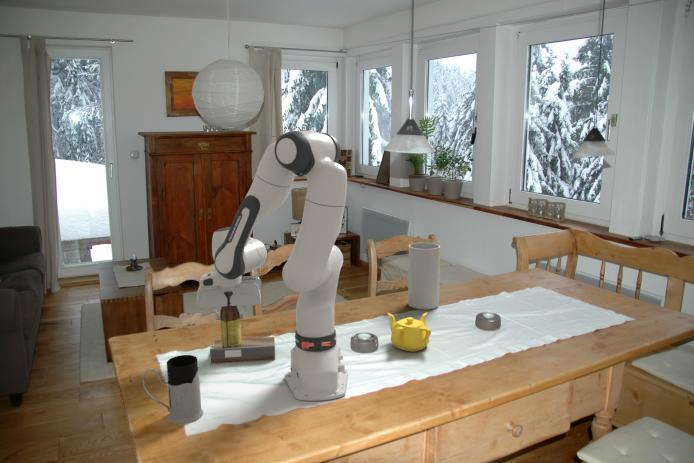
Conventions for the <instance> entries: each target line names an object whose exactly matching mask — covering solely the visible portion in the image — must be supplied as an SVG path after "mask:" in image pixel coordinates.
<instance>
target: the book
mask: <svg viewBox="0 0 694 463" xmlns="http://www.w3.org/2000/svg"><path fill="white" fill-rule="evenodd" d="M264 345H275V336H267V337H266V336H265V337H262V336H261V337H248V338H247V337H246V338H241V347H248V346H264ZM275 346H276V345H275ZM215 348H223V347H222V339H215V340H214V343H213V348H212V349H215ZM273 360H276V354H275V355H270V356H255V357H239V358H223V359H211V358H210V364H211V365H213V364H227V363H230V364H231V363H242V362H243V363H244V362H259V361H273Z"/></svg>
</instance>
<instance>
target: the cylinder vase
mask: <svg viewBox="0 0 694 463" xmlns="http://www.w3.org/2000/svg"><path fill="white" fill-rule="evenodd" d="M440 263H441V245H439V244H437V243H432V242H415V243H410V244H408V272H407V273H408V278H407V280H408V282H407V283H408V284H407V285H408V287H407V288H408V289H407V290H408V292H407V293H408V294H407V304H408V307H410V308H413V309H416V310H423V311H424V310H427V311H428V310H433V309H434V310H435V309H437V308H438V307H439V304H440V277H441V276H440V275H441V274H440V273H441V271H440V268H441V266H440V265H441V264H440Z"/></svg>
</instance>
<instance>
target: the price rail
mask: <svg viewBox="0 0 694 463" xmlns="http://www.w3.org/2000/svg"><path fill="white" fill-rule="evenodd" d="M275 346H276V345H264V346H248V347H231V348H215V349H213V348H210V349H209V353H210V354H209V355H210V360H211V359H223V358H239V357H255V356H270V355H275V356H276V352H275V351H276V350H275V349H276V347H275Z"/></svg>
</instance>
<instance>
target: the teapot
mask: <svg viewBox="0 0 694 463" xmlns="http://www.w3.org/2000/svg"><path fill="white" fill-rule="evenodd" d="M387 315H388V316H389V319H390V332H391V335H390V342H391V343H392V346H393V347H395V348H397V349H399V350H402V351H405V352H418V351H421V350H423V349H425V348H427V346H428V344H429V343H430V337H431V335H432V330H431V329H430V328H429V327H426V318H427V315H428V312H424V313H422V315H421V317H420V320H418V319H414V317H412V316H411V317H410V316H409V317H406V318H402V319H399V320H398V321H396V319H395V316H394V315H393V314H392V313H390V312H387Z"/></svg>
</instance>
